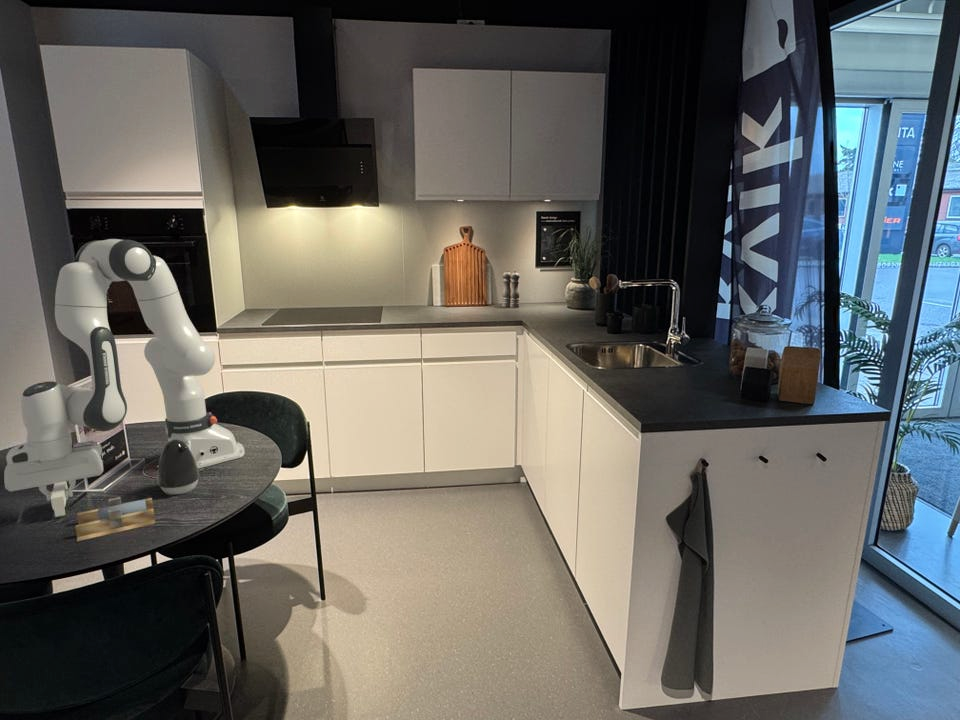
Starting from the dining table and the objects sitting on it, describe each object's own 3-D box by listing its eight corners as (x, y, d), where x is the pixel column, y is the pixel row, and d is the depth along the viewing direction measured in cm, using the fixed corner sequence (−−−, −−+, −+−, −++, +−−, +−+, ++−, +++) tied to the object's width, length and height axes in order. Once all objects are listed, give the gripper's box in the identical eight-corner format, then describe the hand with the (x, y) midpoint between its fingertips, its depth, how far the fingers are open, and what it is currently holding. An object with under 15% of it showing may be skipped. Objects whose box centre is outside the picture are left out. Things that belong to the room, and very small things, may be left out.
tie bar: (69, 497, 155) (66, 480, 154) (66, 514, 146) (63, 496, 145) (57, 500, 154) (54, 482, 152) (54, 517, 145) (50, 498, 144)
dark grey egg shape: (174, 503, 155) (166, 450, 152) (152, 494, 161) (144, 442, 157) (209, 489, 164) (203, 438, 160) (187, 480, 169) (180, 430, 166)
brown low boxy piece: (153, 506, 154) (150, 487, 152) (155, 526, 144) (152, 506, 142) (40, 531, 142) (36, 510, 140) (34, 554, 132) (30, 532, 130)
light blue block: (146, 511, 149) (144, 496, 149) (147, 517, 146) (145, 503, 145) (100, 521, 144) (98, 506, 144) (100, 528, 141) (97, 513, 140)
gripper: (100, 435, 154) (108, 484, 157) (2, 450, 144) (12, 502, 147) (99, 443, 149) (107, 493, 152) (-3, 459, 138) (8, 512, 142)
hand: (60, 497), depth 149 cm, fingers closed on tie bar, 2 cm apart
